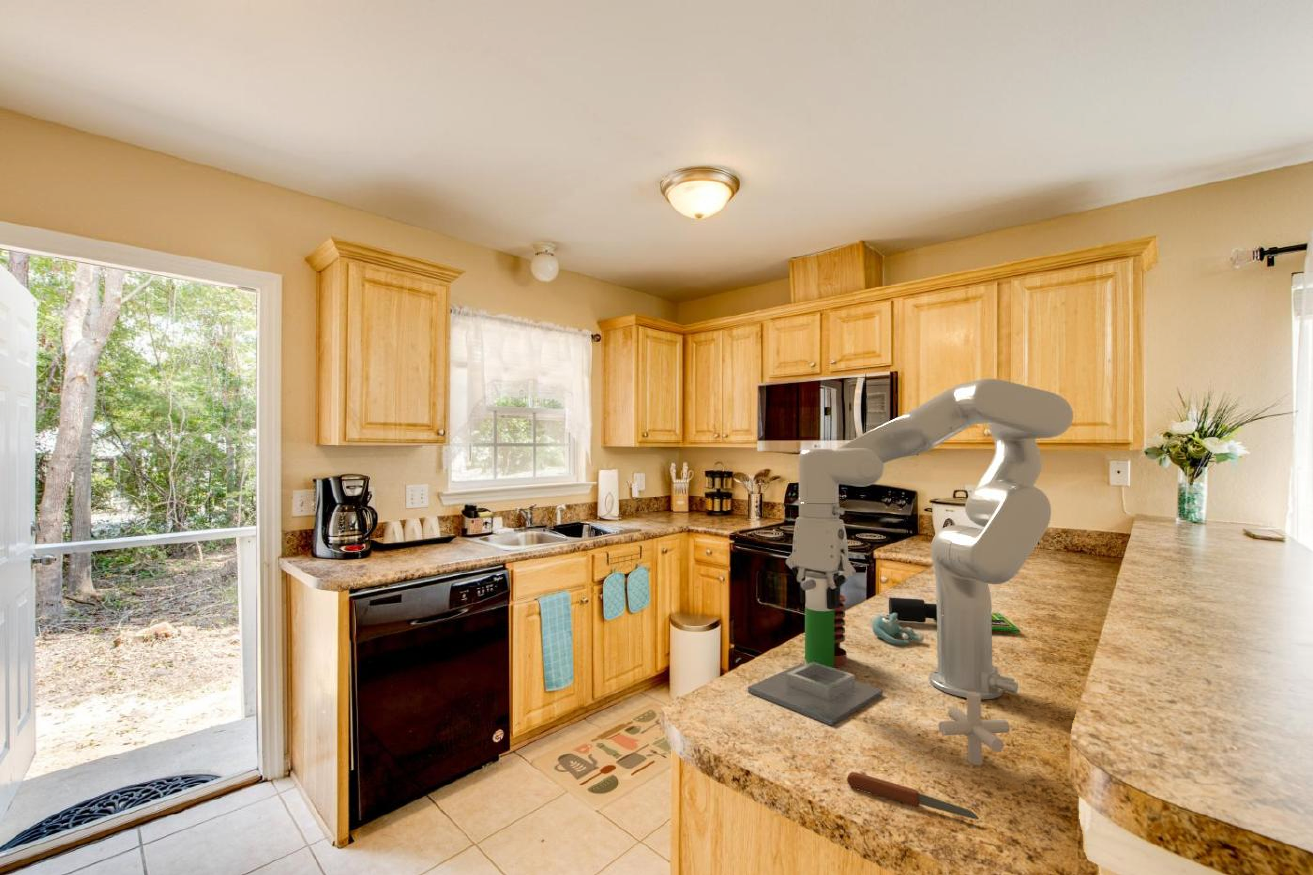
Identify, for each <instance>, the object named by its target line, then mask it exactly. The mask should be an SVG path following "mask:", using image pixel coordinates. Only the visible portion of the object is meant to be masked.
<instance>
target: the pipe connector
mask: <svg viewBox="0 0 1313 875" xmlns="http://www.w3.org/2000/svg"><path fill="white" fill-rule="evenodd" d="M981 700H982V699H981V695H980V694H979V693H977V692H972V691H968V692H967V698H966V713H965V712H963V711H962V710H961V709H959V708H958V707H956V706H951V707H950V708H948V712H947V714H948V716H949V718H951V719H952V720H948V721H947V720H944V721H939V722H938V730H939V732H940V734H941V735H943V736H961V735H967V762H969V763H970V764H971V765H974V766H982V765H983V754H982V753H983V751H982V749H983V748H982V747H983V746H982V743H983V744H985V745H986V746H987V747H988V748H990V749H991V750H992V751H994V752H996V753H999V752H1001V751H1003V749H1004V745H1005V744H1004V741H1003V740H1002V739H1000V738H999V737H998V736H996V735H995V734H1003V733H1004V734H1006V733H1010V729H1011V728H1010V724H1009V722H1008V720H1006V719H1004V718H997V719H996V718H995V719H993V718H992V719H982V701H981Z"/></svg>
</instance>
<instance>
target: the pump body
mask: <svg viewBox="0 0 1313 875" xmlns="http://www.w3.org/2000/svg"><path fill="white" fill-rule="evenodd" d="M801 588H802V589H803V590H805V594H806V608H808V609H810V610H815V611H831V610H833V609H831V610H830V609H828V608H827V588H830V586H829V582H828V578H827V575H826V572H822V571H816V570H810V569H808V570H805V581H802V582H801Z"/></svg>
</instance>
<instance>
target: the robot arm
mask: <svg viewBox="0 0 1313 875" xmlns="http://www.w3.org/2000/svg"><path fill="white" fill-rule="evenodd" d="M1072 408H1073V407H1072V406H1071V404H1070V403H1069V402H1068V401H1067V399H1065V398H1064V397H1062V396H1061V395H1059V394H1056V393H1054V392H1051V391H1047V390H1045V389H1044V390H1043V389H1040V388H1035V387H1031V386H1029V385H1028V386H1027V385H1024V384H1020V383H1015V382H1012V381H1007V380H1003V379H997V378H982V379H978V380H973V381H969V382H964V383H960V384H957V385H954V386H952V387H951V388H948V389H947V390H945V391H943V392H941V393H939V394H937V396H934V397H933V398H931V399H929V400H928V401H925V402H923V403H922V404H920V405H919V406H917V407H915V408H913V409H911V410H909V411H907V412H905V413H904V414H902V415H900V416H898V417H896V418H894V419H891V420H890V421H888V422H885V423H884V424H882V425H879V426H877V427H876V428H873V429H871V430H869V431H867V432H865V433H862V434H861V435H859V436H857V437H855V438H853V439H852V440H849V441H848V442H846V443H845V444H843V445H842V446H841V445H840V446H839V447H838V448H836V449H831V448H807V449H803V450H801V451H800V452H799V455H798V517H796V519H795V523H794V529H793V537H792V552H791V553H790V555H789V556H788V557H787V558H786V560H785V564H786V566H788V568H789V569H790V570H791V571H792V573H793V575H794V576H795V577H796V581H797V582H798V583H799V597H800V598H799V601H800V603H801V604H805V603H806V594H805V590H803V589H802V588H801V582H802V581H805V570H808V569H810V570H816V571H822V572H826V575H827V578H828V582H829V586H830V588H827V608H828V609H830V610H831V609H834V608H837V607H838V606H839V603H840V595H841V593H840V587H841V588H842V587H843V585H844V584H845V583H846V582H847V581H848V580H849V579H851V578H852V577H853V576H855V575H856V573H857V571H856V569H855V568H854V566H853V565H852V564H851V562H850V560H849V547H848V539H847V532H846V528H845V526H846V525H845V522H844V520H843V519H840V515H845V508H844V507H840V503H839V501H840V498H839V497H840V496H839V494H840V493H839V487H840V486H839V485H845V486H853V487H862V488H863V487H868V486H869V487H870V486H871V485H874V484H876V483H877V482H879V480H881V478H882V477H883V475H884V472H885V463H889V462H890V461H894V460H898V459H901V458H907V457H912V456H915V455H919V454H922V453H926V452H928V451H930V450H933V449H934V448H935V447H937V446H939V445H941V444H942V443H944V442H946V441H948V440H949V439H951V438H953V437H955V436H956V435H958V434H960V433H962V432H964V431H965V430H967V429H969V428H970V427H973V426H975V425H981V424H988V429H989V431H990V434H991V436H992V439H993V442H994V454H993V458H992V460H991V462H990V463H989V465H988V467H986V468H987V469H986V470H985V471H984V472H983V474H982V476H981V477H980V478H979V480H978V481H977V483H976V485H975V486H974V488H972V491H971V492H970V494H969V495H968V497H967V500H966V501H965V506H964V507H965V509H964V512H965V514H966V516H967V517H968V519H969V521H971V522H972V523H974V524H975V525H978V526H980V527H983V529H981V528H978V527H973V526H969V525H960V524H954V525H953V524H952V525H949V526H948V525H947V526H945V527H942V528H941V529H939V530H938V531H937V532H935V535H934V536H933V538H932V540H931V544H930V553H931V554H930V555H931V561H932V566H933V570H934V576H935V589H936V604H937V623H936V625H937V626H936V633H937V634H936V635H937V636H936V639H937V640H936V642H937V644H936V645H937V648H936V649H937V669H935V670H932V671H931V672H930V673H929V677H928V679H929V680H928V681H929V682H930V684H931V685H932V686H933V687H935V688H936V689H938V690H940V691H941V692H945V693H947V694H950V695H953V696H957V697H961V698H964V699H965V698H966V699H967V692H968V691H972V692H977V693H979V694H980V695H981V700H992V699H993V700H994V699H997V698H999V697H1001V696H1002V694H1003V691H1006V692H1009V693H1012V694H1017V693H1018V690H1019V684H1018V682H1016V681H1015V678H1011V677H1009V676H1003V675H1001V674H1000V673H999V670H998V668H999V667H998V666H997V665H993V637H992V636H993V630H992V620H991V613H992V596H991V591H990V586H989V585H1000V584H1005V583H1006V582H1007V583H1008V581H1010V580H1011V579H1012V580H1013V578H1014V577H1015V576H1016V575H1017V574H1018V573H1019V572H1020V570H1021V569H1022V568H1023V566H1024V565H1025V563H1026V561H1027V560H1028V558H1029V557H1030V556H1031V554H1032V552H1033V551H1034V550H1035V548H1036V546H1037V545H1038V543H1039V542H1040V541H1041V539H1042V538H1043V536H1044V534H1045V532H1046V530H1047V529H1048V527H1049V524H1050V521H1051V516H1052V506H1051V502H1050V500H1049V498H1048V497H1047V494H1046V493H1045V492H1043V491H1042V490H1041V489H1040V488H1039V487H1036V486H1035V484H1036V482H1037V480H1038V479H1039V477H1040V475H1041V471H1042V468H1043V461H1042V456H1041V452H1040V448H1039V446H1038V442H1037V440H1036V439H1041V440H1042V439H1052V438H1056V437H1059V436H1060V435H1062V434H1064V433H1066V432H1067V430H1069V429H1070V427H1071V425H1072V423H1073V421H1074V412H1073V409H1072ZM840 571H844V572H843V573H840Z"/></svg>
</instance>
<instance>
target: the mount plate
mask: <svg viewBox="0 0 1313 875" xmlns="http://www.w3.org/2000/svg"><path fill="white" fill-rule="evenodd" d="M747 692H748V693H749V694H752V695H754V696H757V697H760V698H761V699H764V700H767V701H769V702H772V703H774V704H776V705H778V706H781V707H784V708H786V709H789V710H791V711H794V712H796V713H799V714H801V715H804V716H807V717H809V718H812V719H813V720H816V721H819V722H820V723H824V724H825V725H829V726H832V727H834V725H837V724H838V723H840V722H841V721H843V720H845V719H846V718H848V717H849V716H851V715H853V714H854V713H856V712H857V711H859V710H861V709H862V708H864V707H866V706H867V705H870V704H871V703H873V702H874V701H875V700H878V699H879V698H881V697H882V696H883V689H881V688H879V687H874V686H872V685H868V684H865V683H861V682H858V681H856V680H855V674H853V673H851V672H847V671H844V670H841V669H837V668H835V667H834V668H831V667H828V666H825V665H822V664H819V663H815V662H811V663H807V664H804V663H799V664H797V665H795V666H794V665H793V666H792V667H790V668H788V669H786V670H783V671H781V672H779V673H777V674H774V675H772V676H770V677H767V678H766V679H762V680H760V681H758V682H756V683H753V684H752V685H749V686H747Z"/></svg>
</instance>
